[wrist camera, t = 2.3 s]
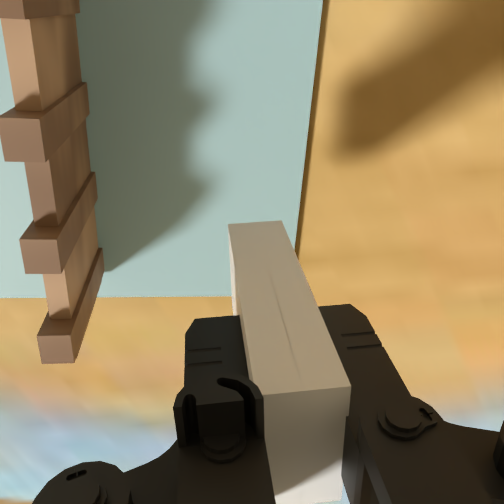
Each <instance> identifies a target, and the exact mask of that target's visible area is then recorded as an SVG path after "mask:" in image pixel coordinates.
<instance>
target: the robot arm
mask: <svg viewBox="0 0 504 504" xmlns="http://www.w3.org/2000/svg"><path fill="white" fill-rule="evenodd" d="M228 238H229V256H230V274H231V291H232V308H233V315H234V316H222V317H211V318H199V319H195V320H194V321H193V323H192V324H191V326H190V327H189V329H188V330H187V332H186V334H185V370H184V387H183V389H182V390H181V391H180V392H179V393H178V394H177V396H176V400H175V403H174V406H173V411H174V418H175V425H176V432H177V440H176V441H175V443H174V444H173V445H172V446H171V447H170V449H169V450H167V451H166V452H165V453H163V454H162V455H161V456H160V457H158V458H156V459H154V460H152V461H150V462H148V463H146V464H144V465H142V466H139V467H137V468H134V469H132V470H129V471H127V472H124V473H123V472H122V471H121V470H120V469H119V468H118V467H117V466H116V465H112V464H109V463H105V462H102V461H95V462H83V463H80V464H78V465H75V466H73V467H70V468H67V469H65V470H63V471H62V472H61V473H59V474H58V475H57V476H55V477H54V478H52V479H51V480H50V481H48V483H47V484H46V485H45V486H44V488H43V489H42V490H41V491H40V493H39V494H38V495H37V496H36V498H35V500H34V501H33V503H32V504H314V503H322V502H330V501H339V500H341V497H342V485H343V483H344V486H345V489H346V493H347V496H348V499H349V502H350V504H504V421H503V424H502V427H501V430H500V432H496V431H490V430H483V429H477V428H470V427H464V426H459V425H455V424H451V423H448V422H446V421H443V419H442V418H441V416H440V415H439V414H438V413H437V412H436V411H435V410H434V409H433V407H431V406H430V405H428V404H426V403H425V402H423V401H422V400H420V399H418V398H415V397H412V396H411V395H410V393H409V391H408V389H407V388H406V386H405V384H404V382H403V381H402V379H401V377H400V375H399V373H398V372H397V370H396V368H395V366H394V365H393V363H392V361H391V359H390V358H389V356H388V354H387V352H386V350H385V349H384V347H382V343H381V342H380V340H379V338H378V336H377V334H375V331H374V329H373V327H372V326H371V324H370V322H369V320H368V319H367V317H366V316H365V315H364V314H363V313H361V312H360V311H359V310H357V309H356V308H355V307H353V306H352V305H351V304H343V305H332V306H320V307H318V306H317V303H316V301H315V299H314V296H313V294H312V291H311V289H310V287H309V284H308V282H307V280H306V277H305V275H304V272H303V270H302V268H301V265H300V263H299V261H298V258H297V256H296V253H295V251H294V249H293V246H292V244H291V241H290V239H289V237H288V234H287V232H286V230H285V227H284V225H283V222H282V220H278V221H264V222H250V223H236V224H228Z"/></svg>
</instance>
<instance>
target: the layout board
mask: <svg viewBox="0 0 504 504" xmlns="http://www.w3.org/2000/svg"><path fill="white" fill-rule="evenodd" d="M79 5H80V13H76V14H75V17H76V27H77V37H78V47H79V57H80V67H81V77H82V82H87V89H88V100H89V111H90V114H89V115H88V116H87V117H86V127H87V138H88V148H89V158H90V168H91V172H95V174H96V184H97V195H98V199H97V201H96V203H95V205H94V208H95V218H96V228H97V238H98V248H103V258H104V269H105V271H104V274H103V277H102V282H101V285H100V288H99V291H98V295H97V297H188V296H232V291H231V274H230V256H229V238H228V224H236V223H250V222H264V221H278V220H282V222H283V225H284V227H285V230H286V232H287V234H288V237H289V239H290V241H291V244H292V246H293V249H294V250H295V241H296V232H297V223H298V215H299V206H300V197H301V188H302V180H303V171H304V162H305V153H306V145H307V136H308V127H309V118H310V110H311V101H312V92H313V83H314V75H315V66H316V57H317V48H318V40H319V31H320V22H321V13H322V5H323V0H79ZM13 107H15V104H14V98H13V92H12V86H11V79H10V73H9V67H8V61H7V55H6V49H5V43H4V37H3V31H2V25H1V19H0V115H2V114H3V113H5V112H7V111H8V110H10V109H12V108H13ZM32 221H33V213H32V207H31V201H30V195H29V189H28V183H27V177H26V171H25V165H24V162H5V161H4V155H3V150H2V144H1V139H0V298H46V292H45V286H44V280H43V274H25V269H24V264H23V259H22V253H21V248H20V242H19V239H20V237H21V236H22V235H23V233H24V232H25V230H26V229H27V228H28V226H29V225H30V224H31V222H32Z"/></svg>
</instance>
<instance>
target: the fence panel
mask: <svg viewBox="0 0 504 504" xmlns="http://www.w3.org/2000/svg"><path fill="white" fill-rule="evenodd" d="M76 13H80V5H79V0H0V19H1V25H2V31H3V37H4V43H5V49H6V55H7V61H8V67H9V73H10V79H11V86H12V92H13V98H14V104H15V107H13V108H12V109H10V110H8V111H7V112H5V113H3V114H2V115H0V139H1V144H2V150H3V155H4V161H5V162H24V165H25V171H26V177H27V183H28V189H29V195H30V201H31V207H32V213H33V221H32V222H31V224H30V225H29V226H28V228H27V229H26V230H25V232H24V233H23V235H22V236H21V237H20V239H19V242H20V248H21V253H22V259H23V264H24V269H25V274H43V280H44V286H45V292H46V298H47V304H48V310H49V311H48V313H47V315H46V317H45V319H44V321H43V324H42V326H41V328H40V330H39V332H38V334H37V340H38V346H39V351H40V356H41V362H42V364H57V363H74V362H75V359H76V358H77V356H78V353H79V350H80V347H81V344H82V341H83V338H84V334H85V331H86V328H87V325H88V322H89V319H90V316H91V313H92V310H93V307H94V304H95V301H96V298H97V295H98V291H99V288H100V285H101V282H102V277H103V274H104V271H105V269H104V258H103V248H98V238H97V228H96V218H95V208H94V205H95V203H96V201H97V199H98V195H97V184H96V174H95V172H91V168H90V158H89V148H88V138H87V127H86V117H87V116H88V115H89V114H90V111H89V100H88V89H87V82H82V77H81V67H80V57H79V47H78V37H77V27H76V17H75V14H76Z"/></svg>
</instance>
